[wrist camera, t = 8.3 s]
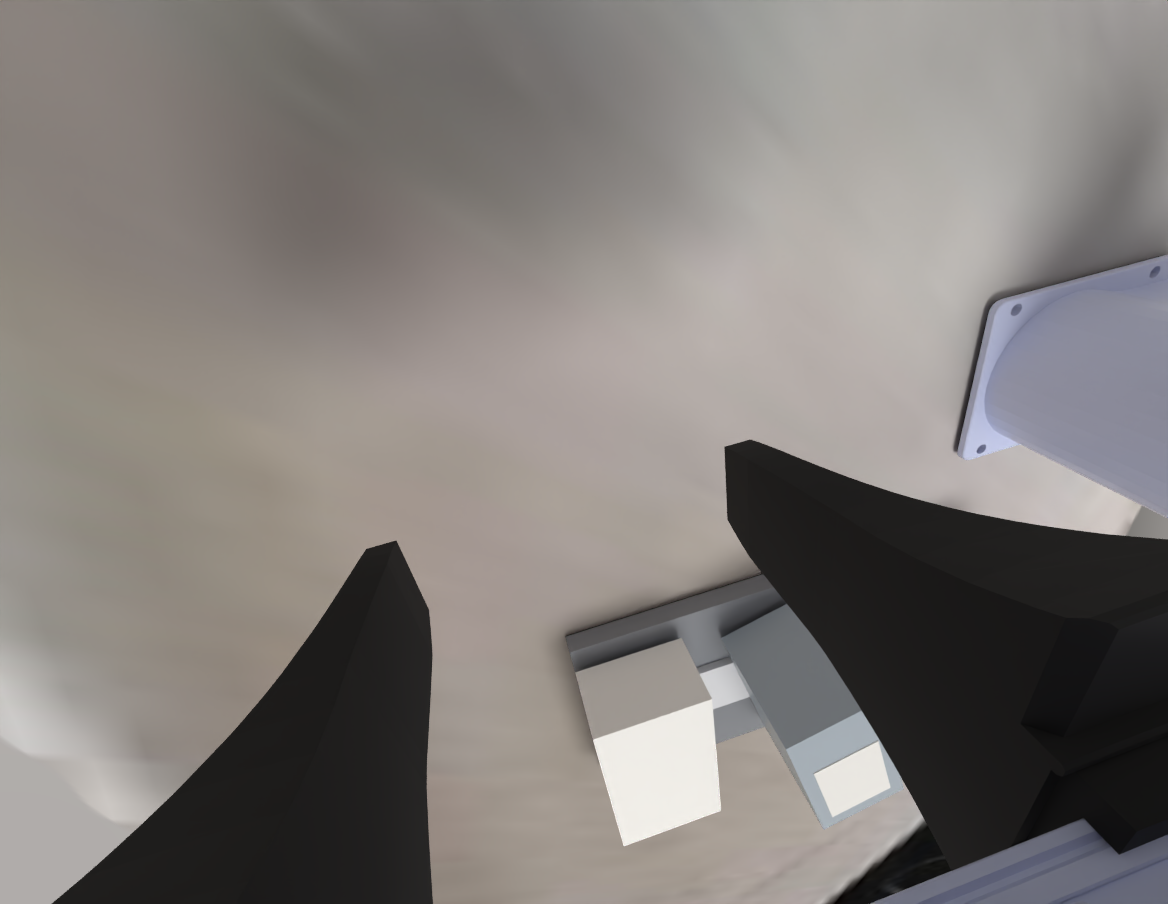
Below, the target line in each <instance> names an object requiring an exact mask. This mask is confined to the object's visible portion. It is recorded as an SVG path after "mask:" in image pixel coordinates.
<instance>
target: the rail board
mask: <svg viewBox="0 0 1168 904" xmlns="http://www.w3.org/2000/svg"><path fill="white" fill-rule="evenodd" d="M786 604H787V603H786V602H785V601H784V600H783V598H782V597H781V596H780V595H779V593H778V592H777V591H776V590H775V588H774V587H773V586H772V585H771V583H770V582H769V581H768V580H767V578H766V577H765V576H764V575H763V574H762V575H759V576H756V577H752V578H749V579H746V580H743V581H740V582H737V583H733V584H730V585H727V586H724V587H721V588H718V589H714V590H711V591H708V592H705V593H702V594H699V595H696V596H692V597H689V598H686V599H683V600H680V601H677V602H673V603H670V604H667V605H664V606H661V607H658V608H654V609H651V610H648V611H645V612H642V613H639V614H636V615H632V616H629V617H626V618H623V619H620V620H617V621H613V622H610V623H607V624H604V625H601V626H598V627H594V628H591V629H588V630H585V631H582V632H579V633H576V634H572V635H569V636H566V641H567V645H568V648H569V652H570V656H571V659H572V663H573V666H574V670H575V674H576V678H577V681H578V685H579V689H580V693H581V697H582V700H583V704H584V708H585V712H586V715H587V719H588V723H589V727H590V731H591V734H592V738H593V742H594V745H595V749H596V752H597V756H598V759H599V762H600V766H601V769H602V773H603V776H604V780H605V783H606V786H607V790H608V793H609V797H610V800H611V804H612V807H613V811H614V814H615V817H616V821H617V824H618V828H619V831H620V835H621V838H622V841H623V845H624V846H626V845H629V844H632V843H634V842H637V841H640V840H643V839H645V838H648V837H651V836H654V835H656V834H659V833H662V832H664V831H667V830H670V829H673V828H675V827H678V826H681V825H683V824H686V823H689V822H692V821H694V820H697V819H700V818H703V817H705V816H708V815H711V814H713V813H716V812H719V811H721V804H720V792H719V779H718V767H717V754H716V744H717V743H720V742H723V741H725V740H728V739H731V738H734V737H737V736H740V735H742V734H745V733H748V732H751V731H754V730H757V729H759V728H762V727H765V726H764V724H763V722H762V720H761V718H760V716H759V714H758V712H757V710H756V708H755V706H754V704H753V702H752V700H751V698H750V696H749V694H748V692H747V690H746V688H745V686H744V684H743V682H742V680H741V678H740V676H739V674H738V672H737V669H736V667H735V665H734V663H733V661H732V659H731V657H730V655H729V653H728V651H727V649H726V647H725V645H724V643H723V641H722V639H721V638H722V637H724V636H726V635H728V634H730V633H732V632H734V631H736V630H738V629H739V628H741V627H743V626H745V625H747V624H749V623H751V622H753V621H755V620H757V619H759V618H761V617H762V616H764V615H766V614H768V613H770V612H772V611H774V610H776V609H778V608H780V607H782V606H784V605H786Z"/></svg>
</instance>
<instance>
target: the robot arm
mask: <svg viewBox="0 0 1168 904" xmlns="http://www.w3.org/2000/svg"><path fill="white" fill-rule="evenodd" d="M1020 444H1021V445H1023V446H1025V447H1027V448H1028V449H1030V450H1032V451H1034V452H1036V453H1038V454H1040V455H1042V456H1044V457H1046V458H1048V459H1050V460H1052V461H1054V462H1056V463H1058V464H1060V465H1062V466H1064V467H1066V468H1068V469H1070V470H1072V471H1074V472H1076V473H1078V474H1080V475H1082V476H1084V477H1086V478H1088V479H1090V480H1092V481H1094V482H1096V483H1098V484H1100V485H1102V486H1104V487H1106V488H1108V489H1110V490H1112V491H1114V492H1116V493H1118V494H1120V495H1122V496H1124V497H1126V498H1128V499H1130V500H1132V501H1134V502H1136V503H1138V504H1140V505H1142V506H1144V507H1146V508H1148V509H1150V510H1152V511H1154V512H1156V513H1158V514H1160V515H1162V516H1164V517H1166V518H1168V255H1164V256H1160V257H1157V258H1153V259H1149V260H1145V261H1142V262H1138V263H1134V264H1130V265H1127V266H1123V267H1119V268H1116V269H1112V270H1108V271H1104V272H1101V273H1097V274H1093V275H1089V276H1086V277H1082V278H1078V279H1075V280H1071V281H1067V282H1063V283H1060V284H1056V285H1052V286H1048V287H1045V288H1041V289H1037V290H1034V291H1030V292H1026V293H1022V294H1019V295H1015V296H1011V297H1007V298H1004V299H1001V300H999V301H997V302H996V303H994V304H993V306H992V307H991V308H990V311H989V314H988V318H987V322H986V327H985V331H984V336H983V340H982V345H981V349H980V354H979V358H978V362H977V367H976V371H975V376H974V380H973V385H972V389H971V394H970V398H969V402H968V407H967V411H966V416H965V420H964V425H963V429H962V433H961V438H960V442H959V447H958V456H959V457H961V458H963V459H965V460H971V459H974V458H977V457H980V456H984V455H987V454H990V453H994V452H997V451H1000V450H1003V449H1007V448H1010V447H1013V446H1017V445H1020ZM725 469H726V492H727V516H728V521H729V523H730V525H731V526H732V528H733V530H734V532H735V533H736V535H737V537H738V539H739V540H740V542H741V544H742V545H743V547H744V548H745V550H746V552H747V553H748V555H749V556H750V558H751V559H752V560H753V562H754V563H755V564H756V566H757V567H758V568H759V569H760V571H761V572H762V573H763V575H764V576H765V577H766V578H767V580H768V581H769V582H770V583H771V585H772V586H773V587H774V588H775V590H776V591H777V592H778V593H779V595H780V596H781V597H782V598H783V600H784V601H785V602H786V603H787V605H788V606H789V607H790V608H791V610H792V611H793V612H794V613H795V615H796V616H797V617H798V618H799V620H800V621H801V622H802V623H803V625H804V626H805V627H806V628H807V630H808V631H809V632H810V633H811V635H812V636H813V637H814V639H815V640H816V641H817V643H818V644H819V646H820V647H821V648H822V650H823V651H824V652H825V654H826V655H827V657H828V659H829V660H830V662H831V663H832V665H833V666H834V668H835V669H836V671H837V673H838V674H839V676H840V677H841V679H842V680H843V682H844V683H845V685H846V686H847V688H848V690H849V691H850V693H851V694H852V696H853V698H854V699H855V701H856V702H857V704H858V706H859V707H860V709H861V711H862V712H863V714H864V715H865V717H866V719H867V720H868V722H869V724H870V725H871V727H872V729H873V730H874V732H875V733H876V735H877V737H878V738H879V740H880V742H881V743H882V745H883V747H884V749H885V750H886V752H887V754H888V756H889V757H890V759H891V761H892V762H893V764H894V766H895V768H896V769H897V771H898V773H899V775H900V776H901V778H902V780H903V781H904V783H905V785H906V787H907V788H908V790H909V792H910V794H911V795H912V797H913V799H914V801H915V803H916V805H917V806H918V808H919V810H920V812H921V814H922V816H923V818H924V819H925V821H926V823H927V825H928V827H929V829H930V830H931V832H932V834H933V836H934V838H935V840H936V841H937V843H938V845H939V847H940V849H941V851H942V852H943V854H944V856H945V858H946V860H947V862H948V864H949V866H950V868H951V870H952V871H951V872H948V873H946V874H943V875H941V876H938V877H936V878H933V879H931V880H928V881H926V882H923V883H921V884H918V885H916V886H913V887H911V888H908V889H906V890H903V891H901V892H898V893H896V894H893V895H891V896H888V897H886V898H883V899H881V900H878V901H876V902H873V903H871V904H1168V540H1166V539H1155V538H1143V537H1130V536H1119V535H1108V534H1099V533H1091V532H1084V531H1076V530H1069V529H1061V528H1054V527H1047V526H1040V525H1034V524H1028V523H1022V522H1016V521H1011V520H1005V519H1000V518H995V517H990V516H985V515H980V514H975V513H970V512H966V511H961V510H957V509H952V508H948V507H944V506H941V505H937V504H933V503H929V502H925V501H921V500H918V499H914V498H910V497H907V496H903V495H900V494H897V493H893V492H890V491H887V490H884V489H881V488H878V487H875V486H872V485H869V484H866V483H863V482H860V481H857V480H854V479H852V478H849V477H846V476H843V475H841V474H838V473H835V472H833V471H830V470H828V469H825V468H822V467H820V466H817V465H815V464H812V463H810V462H807V461H805V460H802V459H800V458H797V457H795V456H792V455H790V454H787V453H785V452H783V451H780V450H777V449H775V448H772V447H770V446H767V445H765V444H762V443H759V442H756V441H753V440H747V441H744V442H740V443H737V444H733V445H730V446H726V447H725ZM431 676H432V641H431V628H430V617H429V609H428V607H427V605H426V603H425V601H424V598H423V596H422V594H421V592H420V590H419V588H418V586H417V584H416V581H415V579H414V577H413V575H412V573H411V571H410V569H409V567H408V564H407V562H406V560H405V558H404V556H403V554H402V552H401V549H400V547H399V545H398V543H397V541H393V542H389V543H386V544H382V545H379V546H375V547H372V548H368V549H366V550H365V552H364V553H363V555H362V556H361V558H360V559H359V561H358V563H357V564H356V566H355V567H354V569H353V570H352V572H351V574H350V575H349V577H348V578H347V580H346V581H345V583H344V585H343V586H342V588H341V589H340V591H339V592H338V594H337V595H336V597H335V599H334V600H333V602H332V603H331V605H330V606H329V608H328V609H327V611H326V612H325V614H324V615H323V617H322V618H321V620H320V621H319V623H318V624H317V626H316V627H315V629H314V630H313V631H312V633H311V634H310V636H309V637H308V638H307V640H306V641H305V642H304V644H303V645H302V647H301V648H300V649H299V651H298V652H297V653H296V655H295V656H294V657H293V659H292V660H291V662H290V663H289V664H288V666H287V667H286V668H285V670H284V671H283V673H282V674H281V675H280V676H279V678H278V679H277V680H276V682H275V683H274V684H273V685H272V687H271V688H270V689H269V690H268V692H267V693H266V694H265V695H264V696H263V698H262V699H261V700H260V701H259V702H258V704H257V705H256V706H255V707H254V708H253V709H252V711H251V712H250V713H249V714H248V715H247V716H246V718H245V719H244V720H243V721H242V722H241V723H240V725H239V726H238V727H237V728H236V729H235V730H234V731H233V732H232V734H231V735H230V736H229V737H228V738H227V739H226V740H225V741H224V742H223V743H222V744H221V745H220V746H219V747H218V748H217V749H216V750H215V751H214V753H213V754H212V755H211V756H210V757H209V758H208V759H207V760H206V761H205V762H204V763H203V764H202V765H201V766H200V767H199V768H198V769H197V770H196V771H195V772H194V773H193V774H192V775H191V776H190V778H189V779H188V780H187V781H186V782H185V783H184V784H183V785H182V786H181V787H180V788H179V789H178V790H177V791H176V792H175V793H174V794H173V795H172V796H171V797H170V798H169V799H168V800H167V801H166V802H165V803H164V804H163V805H162V806H160V807H159V808H158V809H157V810H156V811H155V812H154V813H153V814H152V815H151V816H150V817H149V818H148V819H147V820H146V821H145V822H144V823H143V824H142V825H141V826H139V827H138V828H137V829H136V830H135V831H134V832H133V833H132V834H131V835H130V836H129V837H127V838H126V840H124V841H123V842H122V843H121V844H120V845H119V846H118V847H117V848H116V849H114V850H113V851H112V852H111V853H110V854H109V855H108V856H107V857H106V858H105V859H103V860H102V861H101V862H100V863H99V864H98V865H97V866H95V867H94V868H93V869H92V870H91V871H90V872H89V873H87V874H86V875H85V876H84V877H83V878H82V879H81V880H79V881H78V882H77V883H76V884H75V885H73V886H72V887H71V888H70V889H69V890H67V892H65V893H64V894H63V895H62V896H60V898H58V899H57V900H56V901H54V902H53V903H52V904H433V899H432V883H431V867H430V851H429V832H428V810H427V787H426V786H427V750H428V732H429V714H430V696H431Z"/></svg>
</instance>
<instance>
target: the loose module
mask: <svg viewBox="0 0 1168 904" xmlns="http://www.w3.org/2000/svg"><path fill="white" fill-rule="evenodd" d="M721 639H722V641H723V643H724V645H725V647H726V649H727V651H728V653H729V655H730V657H731V659H732V661H733V663H734V665H735V667H736V669H737V672H738V674H739V676H740V678H741V680H742V682H743V684H744V686H745V688H746V690H747V692H748V694H749V696H750V698H751V700H752V702H753V704H754V706H755V708H756V710H757V712H758V714H759V716H760V718H761V720H762V722H763V724H764V726H765V728H766V729H767V731H768V733H769V735H770V736H771V738H772V740H773V742H774V743H775V745H776V747H777V749H778V750H779V752H780V754H781V756H782V757H783V759H784V761H785V763H786V764H787V766H788V768H789V770H790V771H791V773H792V775H793V777H794V779H795V780H796V782H797V784H798V786H799V787H800V789H801V791H802V793H803V794H804V796H805V798H806V800H807V801H808V803H809V805H810V807H811V808H812V810H813V812H814V814H815V815H816V817H817V819H818V821H819V822H820V824H821V826H822V828H823V829H826V828H828V827H830V826H832V825H834V824H836V823H838V822H840V821H842V820H844V819H846V818H848V817H850V816H852V815H854V814H856V813H857V812H859V811H861V810H863V809H865V808H867V807H869V806H871V805H873V804H875V803H877V802H879V801H881V800H883V799H885V798H887V797H889V796H891V795H893V794H895V793H897V792H899V791H901V790H903V789H904V788H903V784H902V780H901V776H900V775H899V773H898V771H897V769H896V768H895V766H894V764H893V762H892V761H891V759H890V757H889V756H888V754H887V752H886V750H885V749H884V747H883V745H882V743H881V742H880V740H879V738H878V737H877V735H876V733H875V732H874V730H873V729H872V727H871V725H870V724H869V722H868V720H867V719H866V717H865V715H864V714H863V712H862V711H861V709H860V707H859V706H858V704H857V702H856V701H855V699H854V698H853V696H852V694H851V693H850V691H849V690H848V688H847V686H846V685H845V683H844V682H843V680H842V679H841V677H840V676H839V674H838V673H837V671H836V669H835V668H834V666H833V665H832V663H831V662H830V660H829V659H828V657H827V655H826V654H825V652H824V651H823V650H822V648H821V647H820V646H819V644H818V643H817V641H816V640H815V639H814V637H813V636H812V635H811V633H810V632H809V631H808V630H807V628H806V627H805V626H804V625H803V623H802V622H801V621H800V620H799V618H798V617H797V616H796V615H795V613H794V612H793V611H792V610H791V608H790V607H789V606H788V605H787V604H786V605H784V606H782V607H780V608H778V609H776V610H774V611H772V612H770V613H768V614H766V615H764V616H762V617H761V618H759V619H757V620H755V621H753V622H751V623H749V624H747V625H745V626H743V627H741V628H739V629H738V630H736V631H734V632H732V633H730V634H728V635H726V636H724V637H722V638H721Z"/></svg>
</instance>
